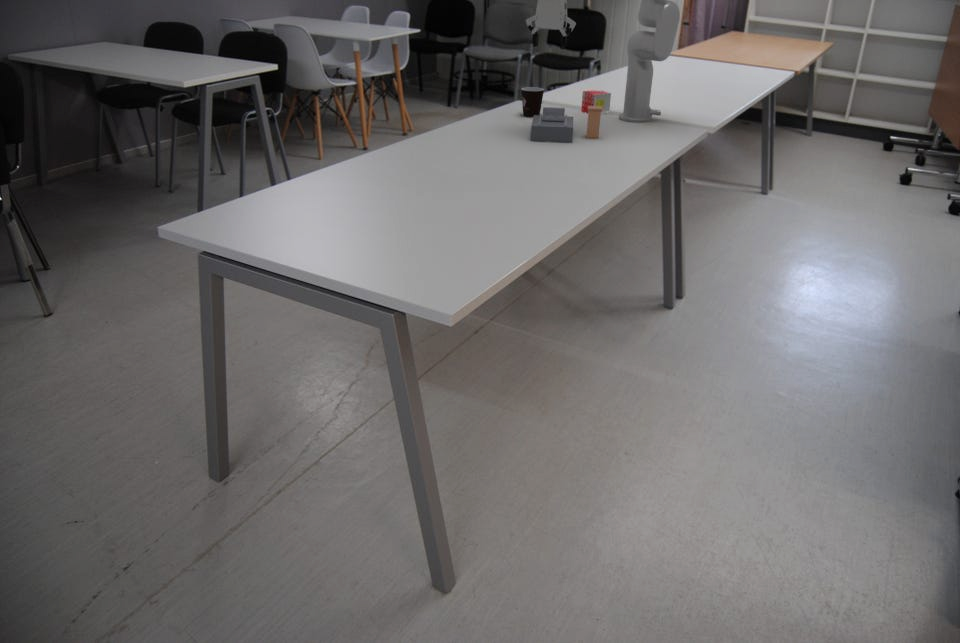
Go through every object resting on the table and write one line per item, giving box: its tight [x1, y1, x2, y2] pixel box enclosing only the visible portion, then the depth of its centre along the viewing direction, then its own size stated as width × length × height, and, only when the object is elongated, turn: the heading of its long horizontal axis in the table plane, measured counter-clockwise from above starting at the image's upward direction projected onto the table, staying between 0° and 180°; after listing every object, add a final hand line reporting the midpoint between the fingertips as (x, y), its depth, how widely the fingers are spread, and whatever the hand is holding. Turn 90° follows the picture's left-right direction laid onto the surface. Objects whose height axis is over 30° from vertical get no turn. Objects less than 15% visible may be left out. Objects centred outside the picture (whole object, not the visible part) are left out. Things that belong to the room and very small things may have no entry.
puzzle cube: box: [580, 89, 612, 115], centre depth 293 cm, size 8×8×8 cm
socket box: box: [530, 113, 574, 143], centre depth 256 cm, size 14×18×6 cm
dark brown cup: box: [520, 86, 545, 118], centre depth 286 cm, size 12×9×10 cm
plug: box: [586, 106, 602, 139], centre depth 255 cm, size 5×5×10 cm
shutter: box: [542, 106, 566, 121], centre depth 257 cm, size 8×8×3 cm
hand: (548, 47), depth 251 cm, fingers open, 9 cm apart
